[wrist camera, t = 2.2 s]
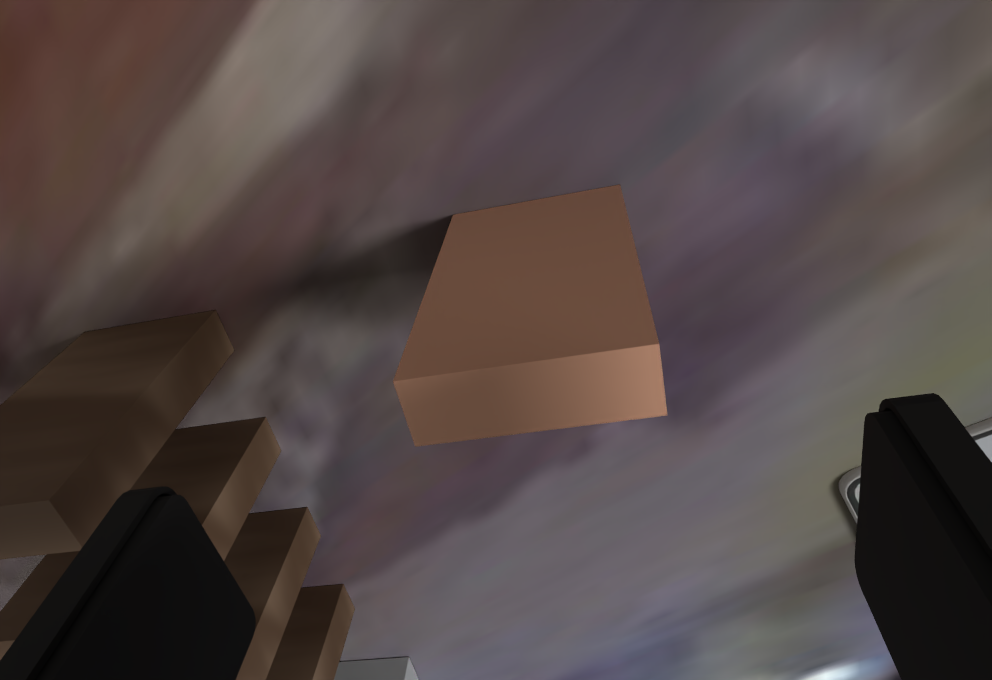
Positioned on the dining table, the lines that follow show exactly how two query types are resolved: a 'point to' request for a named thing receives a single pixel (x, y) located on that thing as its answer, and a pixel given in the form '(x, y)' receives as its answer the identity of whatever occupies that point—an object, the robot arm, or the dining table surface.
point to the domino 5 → (532, 324)
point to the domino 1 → (97, 425)
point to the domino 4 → (314, 635)
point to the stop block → (376, 670)
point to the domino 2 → (190, 473)
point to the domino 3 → (271, 577)
